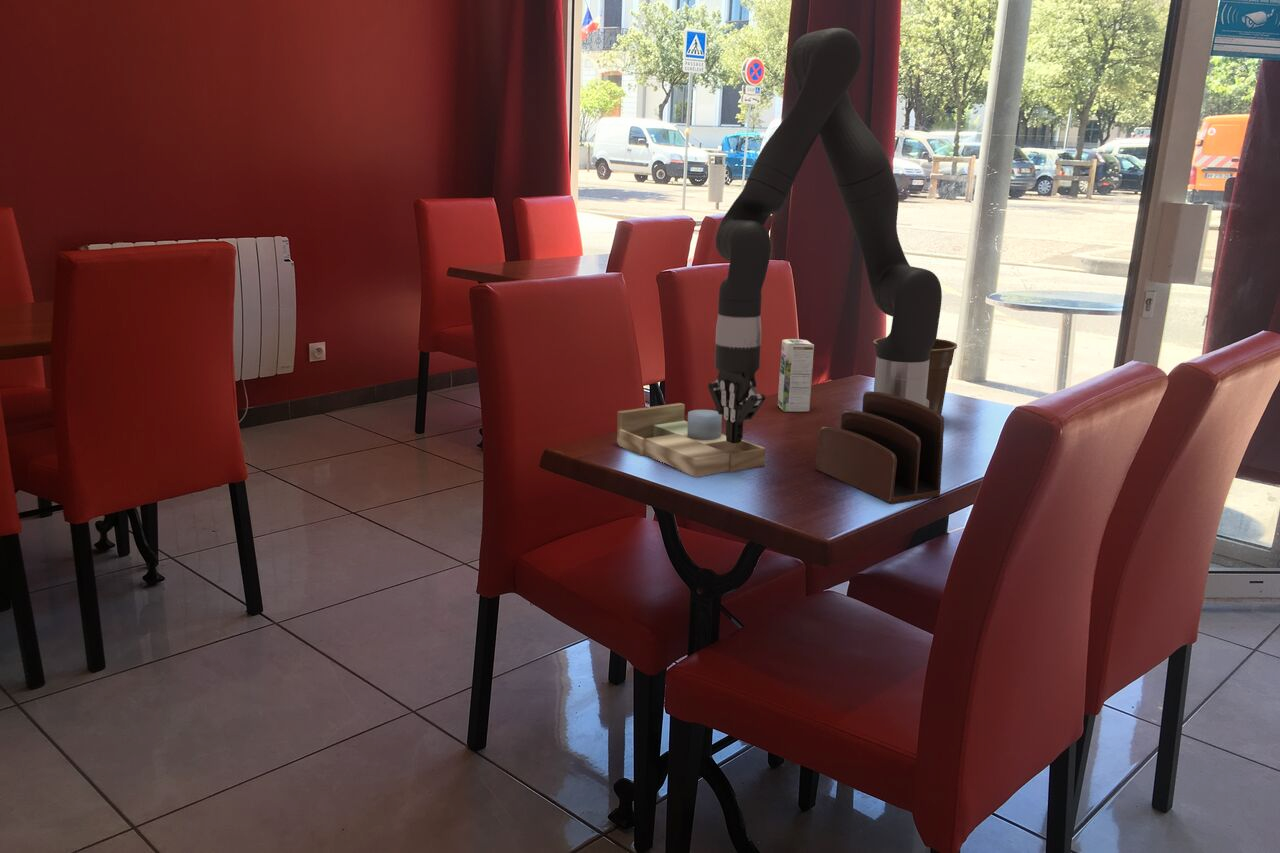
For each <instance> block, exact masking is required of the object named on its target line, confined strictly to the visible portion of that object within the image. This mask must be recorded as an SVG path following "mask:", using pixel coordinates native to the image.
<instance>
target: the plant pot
mask: <svg viewBox="0 0 1280 853" xmlns="http://www.w3.org/2000/svg"><path fill="white" fill-rule="evenodd" d="M886 337H887V336H885V337H879V338H876V339H874V340H873V342H872V343H873V345H874V346H875V357H876V356H877V355H876V354H877V344H878V342H879V341H880V340H881V339H883V338H886ZM957 348H958V344H957V343H956V342H955V341H950V340H947V339H942V338H936V341H935V344H934V346H933V347H932V349H931V352H930V359H929V371H928V383H927V394H926V399H928V400H929V408H930V409H932V410H934V411H935V412H937V413H939V414H940V415H942V413H943V408H944V402H945V397H946V396H945V395H946V392H947V391H946V390H947V384H948V377H949V373H950V367H951V366H952V364H953V360H954V355H955V350H957Z"/></svg>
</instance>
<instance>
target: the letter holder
mask: <svg viewBox="0 0 1280 853" xmlns="http://www.w3.org/2000/svg"><path fill="white" fill-rule="evenodd" d="M861 408H862V410H861V411H859V410H852V409H844V410H843V411H842V413H841V415H840V428H839V427H834V426H821V428H820V429H819V431H818V442H817V449H816V450H817V451H816V461H815V462H816V463H815V469H816V470H817V471H818V472H821V473H823V474H825V475H827V476H829V477H831V478H834V479H836V480H838V481H840V482H842V483H845V484H847V485H849V486H851V487H853V488H855V489H857V488H858V489H857V490H860V491H862V492H864V493H866V494H868V493H869V494H868V495H870V494H871V495H870V496H872V497H874V498H877V499H879V498H880V500H881V499H882V501H884V502H886V503H888V502H889V503H888V504H891V505H894V504H900V503H906V502H905V501H907V502H911V501H910V500H913V501H918V499H920V500H925V499H924V498H926V499H931V498H930V497H932V498H938V497H939V496H941V485H942V483H941V482H942V470H943V469H942V467H943V466H942V465H943V458H944V457H943V452H944V434H945V433H944V431H945V419H944V417H943V415H942V414H941V415H940V414H939V413H937V412H935V411H934V410H932V409H930V408H928V407H926V406H924V405H922V404H919V403H917V402H914V401H911V400H908V399H905V398H902V397H899V396H895V395H891V394H886V393H881V392H874V391H871V390H869V391H868V390H867V391H865V392H864V393H863V396H862V407H861ZM937 496H938V497H937ZM899 502H900V503H899ZM893 503H894V504H893Z"/></svg>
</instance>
